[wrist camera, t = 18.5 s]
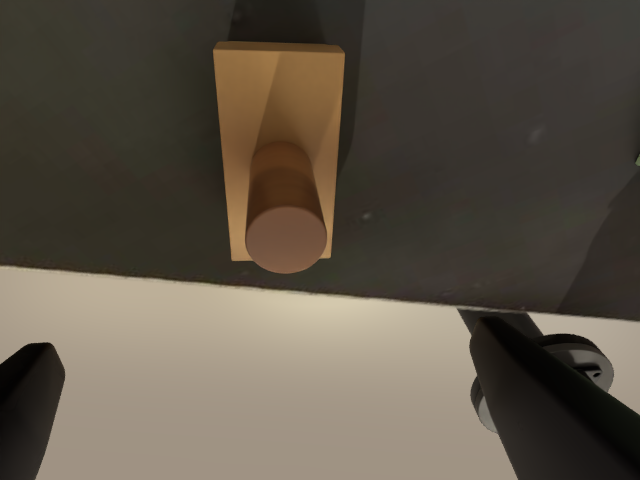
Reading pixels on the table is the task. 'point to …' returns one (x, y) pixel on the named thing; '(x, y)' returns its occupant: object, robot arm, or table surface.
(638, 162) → the tray
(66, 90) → the table surface
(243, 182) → the brush
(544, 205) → the table surface
